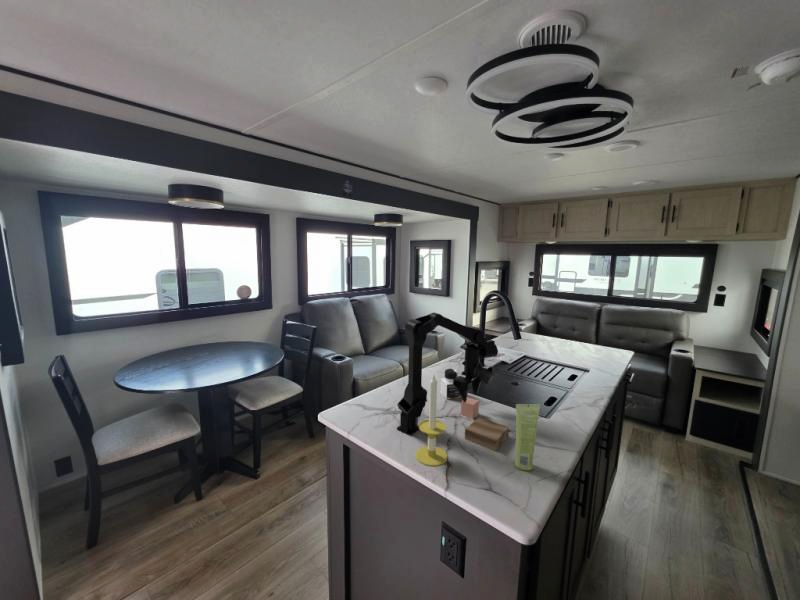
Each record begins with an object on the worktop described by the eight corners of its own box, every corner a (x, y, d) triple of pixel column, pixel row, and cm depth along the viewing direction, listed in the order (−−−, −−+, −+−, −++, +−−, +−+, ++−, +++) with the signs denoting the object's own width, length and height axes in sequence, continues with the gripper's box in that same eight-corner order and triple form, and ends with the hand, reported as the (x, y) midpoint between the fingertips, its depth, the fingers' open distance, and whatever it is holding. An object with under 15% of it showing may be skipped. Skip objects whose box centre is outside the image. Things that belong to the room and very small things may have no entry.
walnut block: (495, 452, 102) (496, 440, 102) (464, 439, 109) (465, 428, 109) (508, 438, 111) (508, 427, 110) (478, 427, 118) (479, 417, 117)
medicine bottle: (446, 399, 139) (447, 373, 138) (440, 393, 146) (441, 368, 145) (461, 398, 141) (462, 372, 140) (454, 391, 148) (455, 366, 147)
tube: (519, 457, 99) (523, 398, 97) (535, 465, 96) (540, 403, 93) (511, 466, 95) (515, 404, 92) (528, 474, 92) (533, 410, 89)
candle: (430, 443, 106) (432, 365, 103) (454, 457, 99) (457, 374, 95) (408, 454, 100) (410, 372, 96) (432, 470, 92) (434, 382, 89)
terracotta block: (472, 419, 122) (473, 404, 122) (460, 415, 126) (461, 401, 125) (478, 414, 126) (478, 400, 125) (466, 410, 129) (467, 397, 129)
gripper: (481, 370, 111) (478, 413, 113) (501, 358, 125) (499, 396, 127) (453, 363, 118) (451, 403, 120) (475, 352, 132) (473, 388, 134)
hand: (470, 397), depth 125 cm, fingers open, 9 cm apart
